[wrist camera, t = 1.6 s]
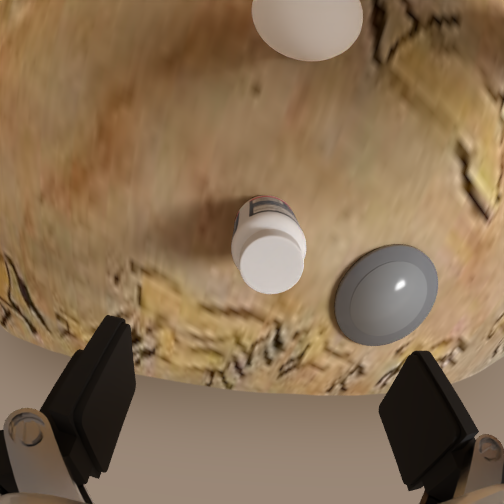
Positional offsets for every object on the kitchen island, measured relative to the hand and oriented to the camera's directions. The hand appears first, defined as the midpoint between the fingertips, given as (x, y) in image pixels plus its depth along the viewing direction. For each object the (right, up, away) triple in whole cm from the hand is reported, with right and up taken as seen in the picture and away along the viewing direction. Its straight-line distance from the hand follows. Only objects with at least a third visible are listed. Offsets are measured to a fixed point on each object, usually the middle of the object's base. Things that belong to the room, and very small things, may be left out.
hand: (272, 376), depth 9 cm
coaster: (+14, -1, +21) cm, 25 cm away
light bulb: (+3, +21, +12) cm, 24 cm away
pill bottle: (+1, +6, +18) cm, 19 cm away
